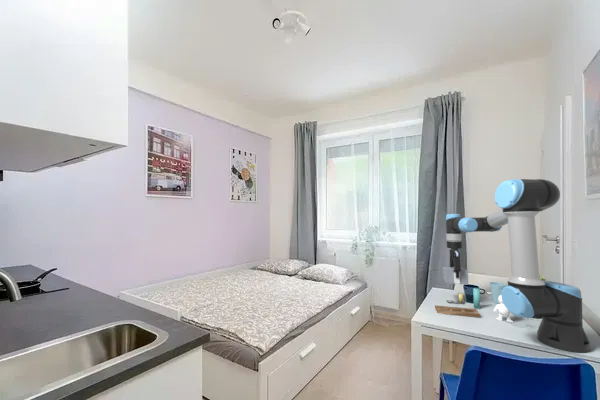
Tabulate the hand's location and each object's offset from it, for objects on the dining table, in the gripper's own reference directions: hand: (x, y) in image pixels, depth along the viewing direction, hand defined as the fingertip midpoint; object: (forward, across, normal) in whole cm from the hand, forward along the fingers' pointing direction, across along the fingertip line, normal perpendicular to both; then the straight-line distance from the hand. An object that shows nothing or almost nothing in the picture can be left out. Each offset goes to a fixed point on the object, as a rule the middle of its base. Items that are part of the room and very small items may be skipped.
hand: (455, 281), depth 157 cm
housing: (0, 0, 0) cm, 0 cm away
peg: (+12, -6, -9) cm, 16 cm away
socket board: (+12, -16, +3) cm, 21 cm away
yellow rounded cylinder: (+12, 0, 0) cm, 12 cm away
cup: (+12, +8, -23) cm, 27 cm away
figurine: (+12, -22, -16) cm, 29 cm away
